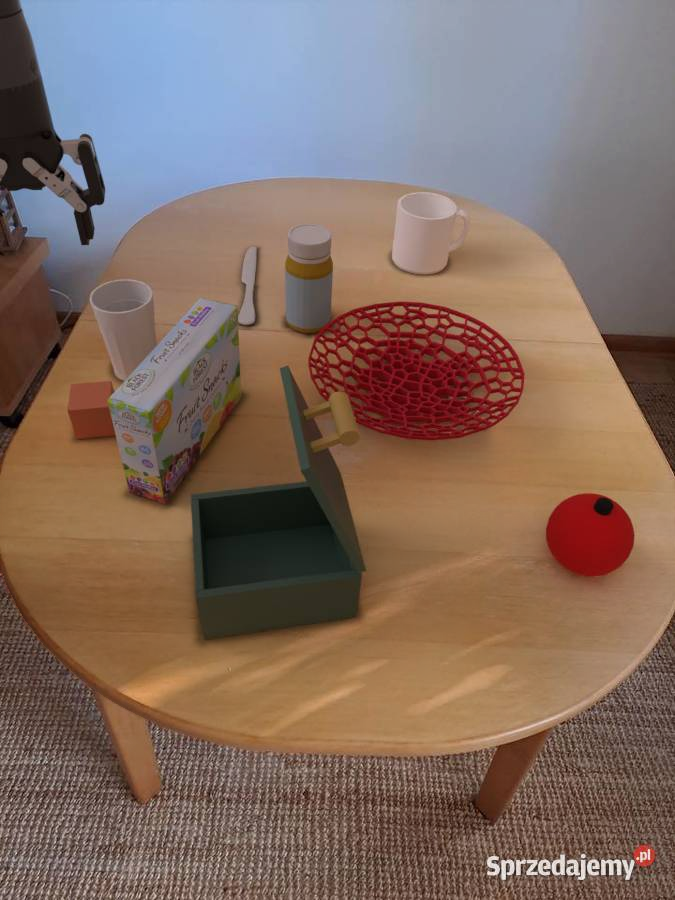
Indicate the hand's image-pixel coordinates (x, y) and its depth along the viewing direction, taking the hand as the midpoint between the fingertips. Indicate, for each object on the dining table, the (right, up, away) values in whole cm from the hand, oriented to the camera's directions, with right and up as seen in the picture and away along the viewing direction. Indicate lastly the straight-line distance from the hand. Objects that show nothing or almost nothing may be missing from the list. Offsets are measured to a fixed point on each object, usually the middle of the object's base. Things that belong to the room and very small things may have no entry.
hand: (42, 243), depth 69 cm
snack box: (+12, -20, +17) cm, 29 cm away
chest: (+24, -35, +3) cm, 42 cm away
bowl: (+41, -13, +26) cm, 50 cm away
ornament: (+57, -34, +7) cm, 67 cm away
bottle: (+26, -1, +36) cm, 45 cm away
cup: (+2, -10, +27) cm, 28 cm away
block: (-1, -18, +18) cm, 26 cm away
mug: (+46, +12, +51) cm, 70 cm away
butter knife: (+16, +6, +43) cm, 46 cm away
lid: (+29, -23, -7) cm, 38 cm away
